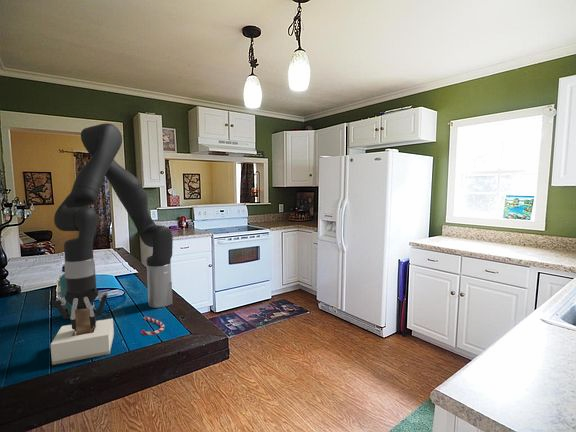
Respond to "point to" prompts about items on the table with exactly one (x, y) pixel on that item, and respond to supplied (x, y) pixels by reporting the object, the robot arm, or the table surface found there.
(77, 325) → the peg
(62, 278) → the beverage bottle
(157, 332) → the candy cane
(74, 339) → the socket block
